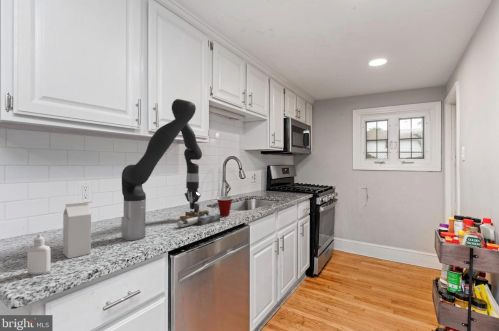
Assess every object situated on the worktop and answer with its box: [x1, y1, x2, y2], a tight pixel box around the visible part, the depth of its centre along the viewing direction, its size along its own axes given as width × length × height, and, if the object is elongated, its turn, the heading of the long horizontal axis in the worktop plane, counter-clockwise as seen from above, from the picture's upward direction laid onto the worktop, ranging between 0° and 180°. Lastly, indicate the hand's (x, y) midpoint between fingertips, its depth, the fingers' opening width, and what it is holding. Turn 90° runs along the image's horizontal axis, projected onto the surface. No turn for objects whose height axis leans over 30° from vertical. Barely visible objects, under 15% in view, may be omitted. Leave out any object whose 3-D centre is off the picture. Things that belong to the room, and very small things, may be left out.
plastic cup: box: [216, 195, 234, 217], centre depth 166 cm, size 11×11×12 cm
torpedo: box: [176, 217, 198, 228], centre depth 139 cm, size 18×5×7 cm, turn 146°
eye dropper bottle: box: [26, 233, 51, 275], centre depth 78 cm, size 4×6×12 cm
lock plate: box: [179, 209, 221, 226], centre depth 151 cm, size 14×21×6 cm, turn 52°
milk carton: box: [62, 201, 92, 259], centre depth 94 cm, size 7×7×19 cm
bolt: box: [193, 202, 206, 216], centre depth 151 cm, size 3×10×7 cm, turn 52°
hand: (192, 208), depth 155 cm, fingers closed
